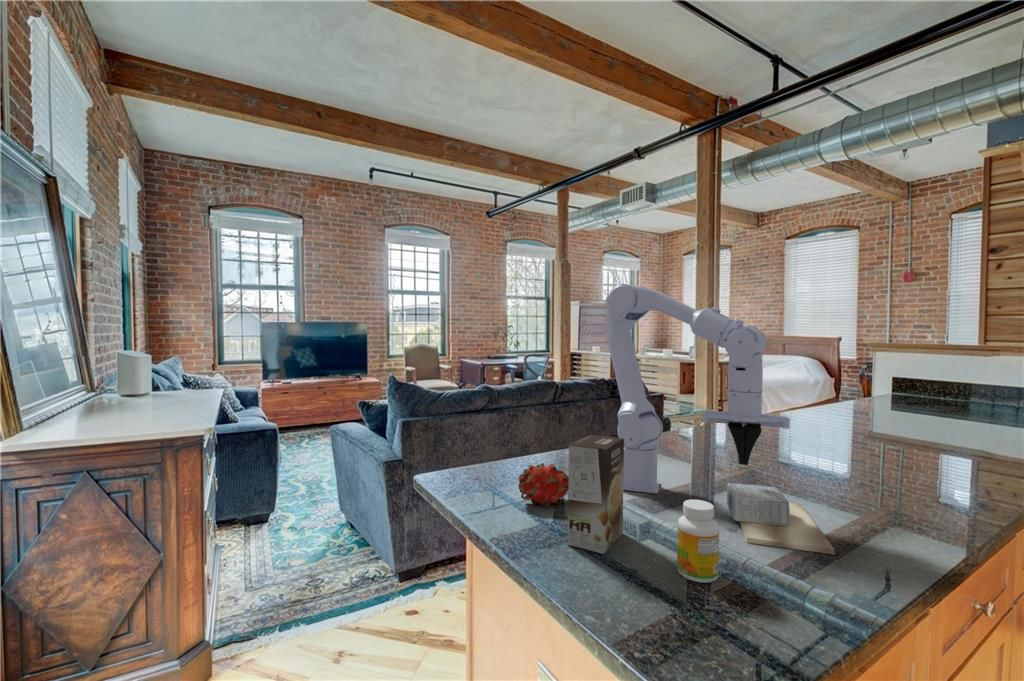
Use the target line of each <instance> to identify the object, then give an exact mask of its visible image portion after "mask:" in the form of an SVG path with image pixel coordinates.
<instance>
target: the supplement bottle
mask: <svg viewBox="0 0 1024 681" xmlns="http://www.w3.org/2000/svg"><path fill="white" fill-rule="evenodd" d="M682 512H683V515H681V516H680V517H679V518H678V521H677V553H676V554H677V558H676V560H677V561H676V562H677V563H676V567H677V569H676V570H677V572H678V573H679V575H680V576H682V577H684V578H685V579H687V580H690V581H691V582H692V581H693V582H697V583H700V584H701V583H705V584H706V583H713V582H715V581H716V580H717V579H718V578H719V572H720V571H719V570H720V569H719V568H720V526H719V524H718V523H717V522H718V521H715V519H713V518H714V517H715V506H714V505H713V504H712V503H711V502H709V501H706V500H702V499H686V500H684V501H683V504H682Z"/></svg>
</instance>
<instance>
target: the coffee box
mask: <svg viewBox="0 0 1024 681" xmlns="http://www.w3.org/2000/svg"><path fill="white" fill-rule="evenodd" d="M568 477H569V483H568V492H567V498H568V499H567V504H568V505H567V545H568V546H569V547H570V546H571V547H575V548H578V549H583V550H587V551H590V552H594V553H599V554H602V555H603V554H605V553H606V552H607V551H608V550H610V548H611V547H612V546H613V545H614V544H615V543H616V541H617V540H618V539H619V538H620V537H621V536H622V534H623V532H624V531H623V530H624V490H623V482H624V439H623V438H619V437H616V436H609V435H608V436H607V435H597V434H588V435H586V436H584V437H582V438H580V439H577V440H575V441H572V442H570V443H569V444H568Z"/></svg>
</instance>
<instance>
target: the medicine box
mask: <svg viewBox="0 0 1024 681" xmlns="http://www.w3.org/2000/svg"><path fill="white" fill-rule="evenodd" d="M726 505H727V508H728V510H729V512H730V515H731V517H732V519H733V520H734V521H736V522H739V521H741V522H751V523H761V524H771V525H781V526H789V520H790V508H789V501H788V499H787V498H786V497H785V496H784V494H782V492H781V491H780V490H779V489H778V487H777V486H769V485H768V486H767V485H756V484H744V483H731V482H728V483H727V484H726Z"/></svg>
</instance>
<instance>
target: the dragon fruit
mask: <svg viewBox="0 0 1024 681" xmlns="http://www.w3.org/2000/svg"><path fill="white" fill-rule="evenodd" d="M527 467H528V468H526V469H524V470H523V473H521V474H520V475H519V477H518V478H519V480H518V482H519V484H517V486H518V490H519V492H520V493H521V498H522V499H523V500H524V501H531V504H532V505H537V504H538V503H540V504H541V505H542V506H545V507H549V506H550V504H557V505H559V504H561V503H562V502H563V501H565V499H564V498H563V497H564V496H566V495H567V494H568V483H569V474H567V473H565V471H564V470H562V469H561V470H559V469H557V467H556V465H555V464H554V463H551V464H549V465H548V466H546V465H545V463H543V462H542V463H540V464H538V465H536V466H535V465H532V464H528V466H527ZM524 495H525V496H524Z"/></svg>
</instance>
